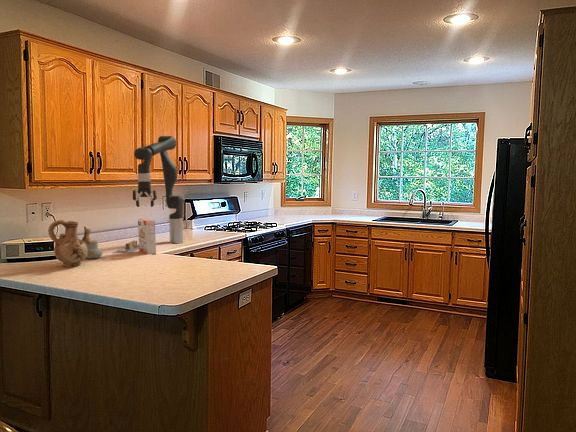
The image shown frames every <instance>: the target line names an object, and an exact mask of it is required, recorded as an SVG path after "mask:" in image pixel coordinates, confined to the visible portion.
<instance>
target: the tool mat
mask: <svg viewBox="0 0 576 432" xmlns="http://www.w3.org/2000/svg"><path fill="white" fill-rule="evenodd" d="M121 249H126V246H125V247H123V248H120V249H118V250H121ZM118 250H116V251H112V252H111V254H133V253H134V252H137V251H139V245H137V247H135V248H133V249H132V251H129V252H118Z"/></svg>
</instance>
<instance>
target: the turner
mask: <svg viewBox="0 0 576 432" xmlns="http://www.w3.org/2000/svg"><path fill="white" fill-rule="evenodd" d="M137 246H138V240H131V241H130V242H127V243H125V247H126V249H122V248H120V249H121V250H120V249H118V252H129V251H132V249H133V248H135V247H137Z"/></svg>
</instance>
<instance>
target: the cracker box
mask: <svg viewBox="0 0 576 432" xmlns="http://www.w3.org/2000/svg"><path fill="white" fill-rule="evenodd" d="M155 221H156V220H153V219H150V218H138V219H137V228H138V230H137V231H138V246H139V250H138V251H139V252H140V253H142V254H145V255H157V246H156V245H157V244H156V222H155Z"/></svg>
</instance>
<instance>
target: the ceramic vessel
mask: <svg viewBox="0 0 576 432" xmlns="http://www.w3.org/2000/svg"><path fill="white" fill-rule="evenodd" d="M59 225H60V226H61V225H62V226H63V227H64V229H65V231H64V233H59V237H56V234H55V232H54V229H55V228H56V227H57V226H59ZM78 226H79V222H78V221H73V220H70V221H66V220H64V219H58V220H55V221H53V222H52V223H51V224H50V225H49V226H48V229H47V230H48V236H49V238H50V239H51V240H52V241H53V242H54V244H55V245H54V247H53V253H54V255H55V258H56V259H57V260H58V261H59V262H62V265H63V266H62V267H65V268H75V266H76V267H79V266H81V265H82V263H81V261H84V260H85V259H87V258H86V257H87V254H88V252H87V245H89V244H92V243H94V241H95V240H92V239H91V238H90V234H91V232H92V231H91V229H90V228H87V227H86V225H85V226H84V227H83V229H84V235H83V237H82V238H81V239H80V238H79V237H78Z"/></svg>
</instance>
